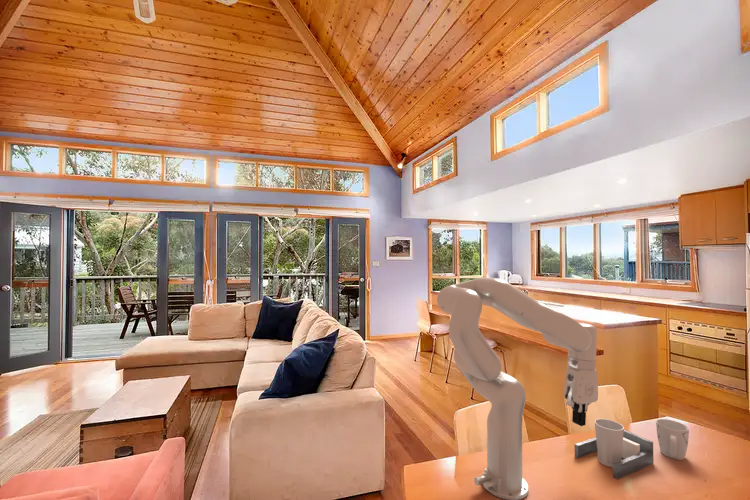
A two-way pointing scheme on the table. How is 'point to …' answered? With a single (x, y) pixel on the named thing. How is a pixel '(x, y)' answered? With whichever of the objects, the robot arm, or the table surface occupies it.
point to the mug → (672, 438)
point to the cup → (609, 441)
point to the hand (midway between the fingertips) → (578, 423)
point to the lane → (626, 464)
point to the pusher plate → (629, 448)
